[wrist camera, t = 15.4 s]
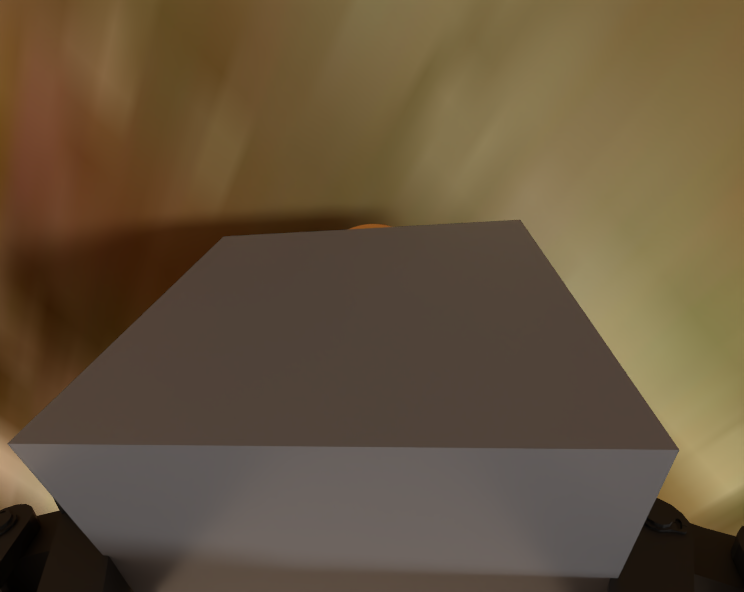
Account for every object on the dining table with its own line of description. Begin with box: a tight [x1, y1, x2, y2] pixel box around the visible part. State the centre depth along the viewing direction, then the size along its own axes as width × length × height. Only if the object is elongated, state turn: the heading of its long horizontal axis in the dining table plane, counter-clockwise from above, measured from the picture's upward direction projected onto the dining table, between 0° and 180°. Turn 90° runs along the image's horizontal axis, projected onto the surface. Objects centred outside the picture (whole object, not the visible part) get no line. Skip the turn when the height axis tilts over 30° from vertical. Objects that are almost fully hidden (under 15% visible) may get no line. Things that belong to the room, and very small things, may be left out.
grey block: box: [8, 220, 679, 592], centre depth 12 cm, size 10×10×9 cm
